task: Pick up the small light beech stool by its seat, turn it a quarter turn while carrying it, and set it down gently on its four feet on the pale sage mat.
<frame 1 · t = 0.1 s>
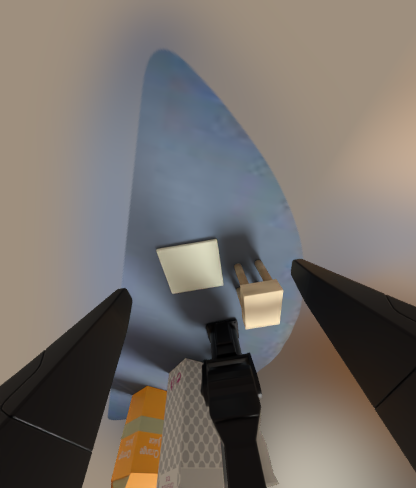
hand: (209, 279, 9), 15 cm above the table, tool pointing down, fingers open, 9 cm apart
mat: (192, 267, 27), on the table
orange juice: (152, 393, 49), on the table
chalice: (237, 370, 46), on the table
stool: (248, 276, 28), on the table
box: (191, 368, 43), on the table
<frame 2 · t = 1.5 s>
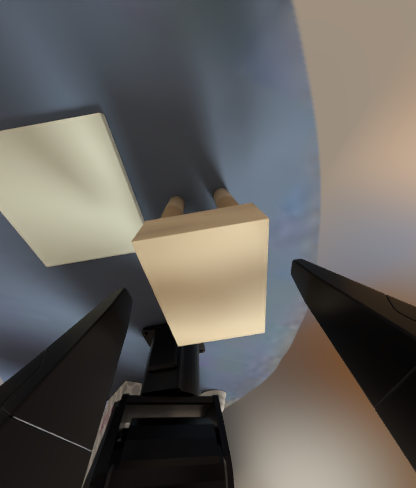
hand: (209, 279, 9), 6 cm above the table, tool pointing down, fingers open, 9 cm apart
mat: (72, 203, 12), on the table
stool: (204, 232, 14), on the table
box: (141, 393, 29), on the table
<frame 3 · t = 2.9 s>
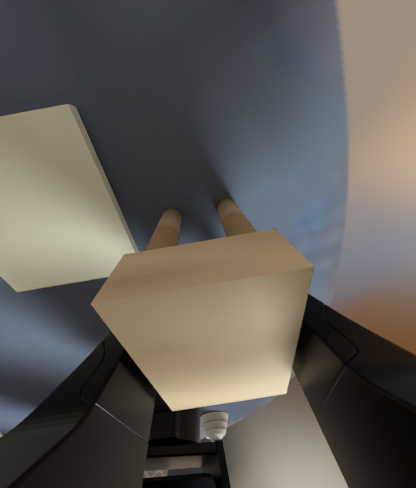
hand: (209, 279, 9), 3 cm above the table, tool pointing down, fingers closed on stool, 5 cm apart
mat: (43, 218, 10), on the table
chalice: (214, 415, 29), on the table
stool: (206, 250, 11), on the table, touching gripper
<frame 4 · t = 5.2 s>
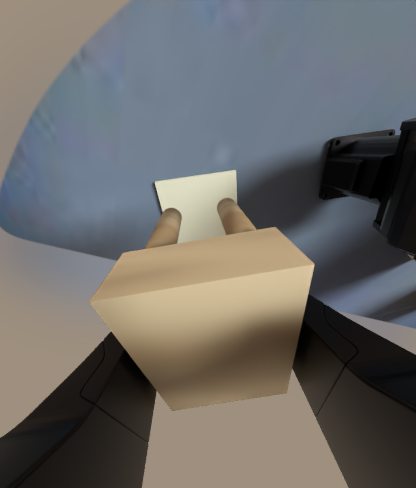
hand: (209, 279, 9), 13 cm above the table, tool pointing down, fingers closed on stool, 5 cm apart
mat: (201, 213, 21), on the table
stool: (206, 249, 11), point 10 cm above the table, touching gripper
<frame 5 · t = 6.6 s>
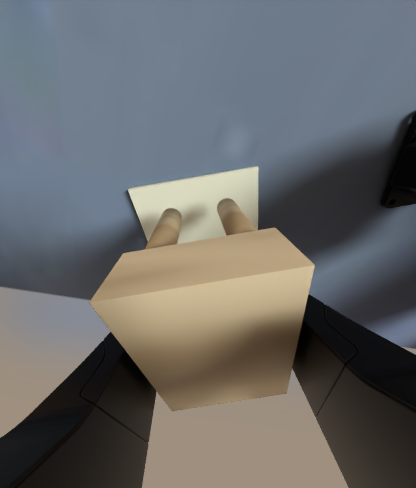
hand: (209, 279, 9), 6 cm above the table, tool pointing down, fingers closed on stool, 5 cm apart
mat: (203, 233, 14), on the table
stool: (206, 249, 11), point 3 cm above the table, touching gripper
when the fingers open (5 cm above the table, at t = 7.6 s): stool drops 1 cm, resting on mat.
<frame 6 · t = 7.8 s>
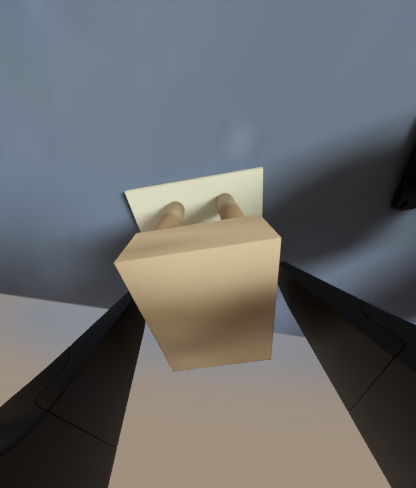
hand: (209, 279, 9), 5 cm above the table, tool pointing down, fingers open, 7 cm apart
mat: (204, 237, 13), on the table
stool: (206, 239, 13), point 1 cm above the table, touching mat
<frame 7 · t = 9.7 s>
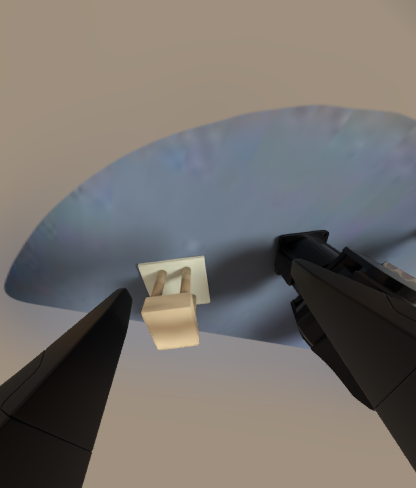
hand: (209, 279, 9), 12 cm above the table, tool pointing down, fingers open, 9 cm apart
mat: (177, 283, 25), on the table
stool: (178, 285, 24), resting on mat
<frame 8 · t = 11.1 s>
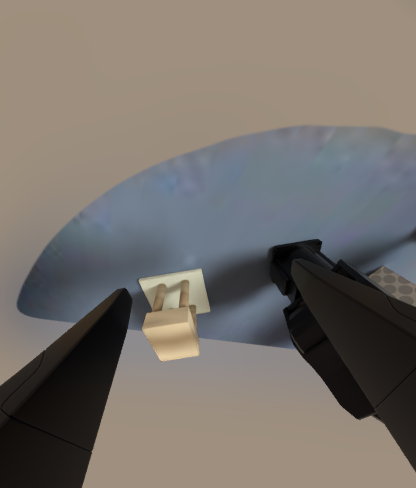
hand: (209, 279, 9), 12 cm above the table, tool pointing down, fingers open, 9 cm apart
mat: (177, 295, 26), on the table
stool: (178, 297, 25), resting on mat
box: (370, 291, 29), on the table
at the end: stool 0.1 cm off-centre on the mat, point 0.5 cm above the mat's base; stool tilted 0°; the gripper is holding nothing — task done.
